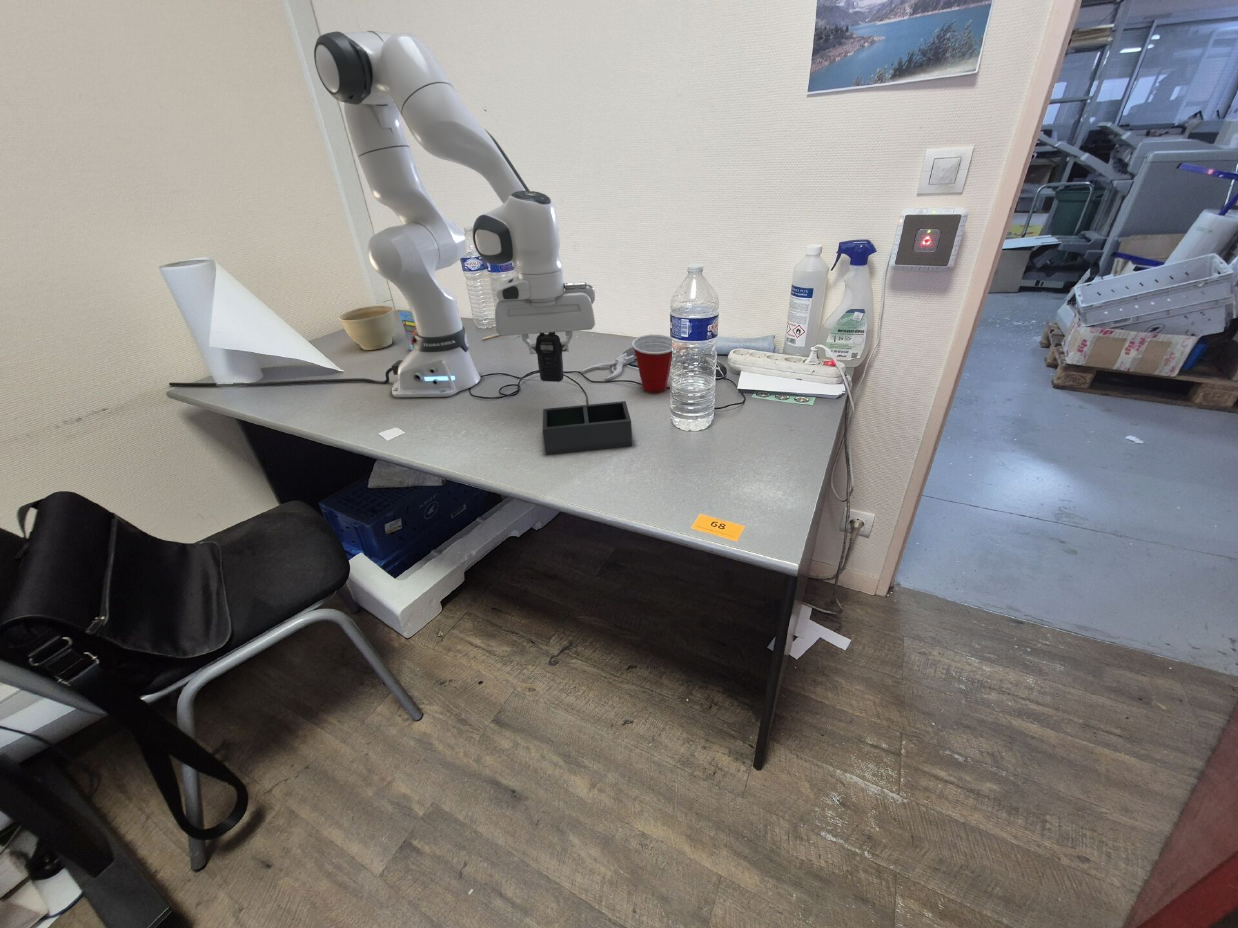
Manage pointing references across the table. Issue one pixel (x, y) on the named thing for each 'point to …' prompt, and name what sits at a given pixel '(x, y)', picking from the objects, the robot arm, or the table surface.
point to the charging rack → (586, 427)
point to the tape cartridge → (408, 326)
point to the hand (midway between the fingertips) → (549, 352)
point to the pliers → (619, 362)
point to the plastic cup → (653, 361)
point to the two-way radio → (549, 357)
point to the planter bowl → (370, 326)
